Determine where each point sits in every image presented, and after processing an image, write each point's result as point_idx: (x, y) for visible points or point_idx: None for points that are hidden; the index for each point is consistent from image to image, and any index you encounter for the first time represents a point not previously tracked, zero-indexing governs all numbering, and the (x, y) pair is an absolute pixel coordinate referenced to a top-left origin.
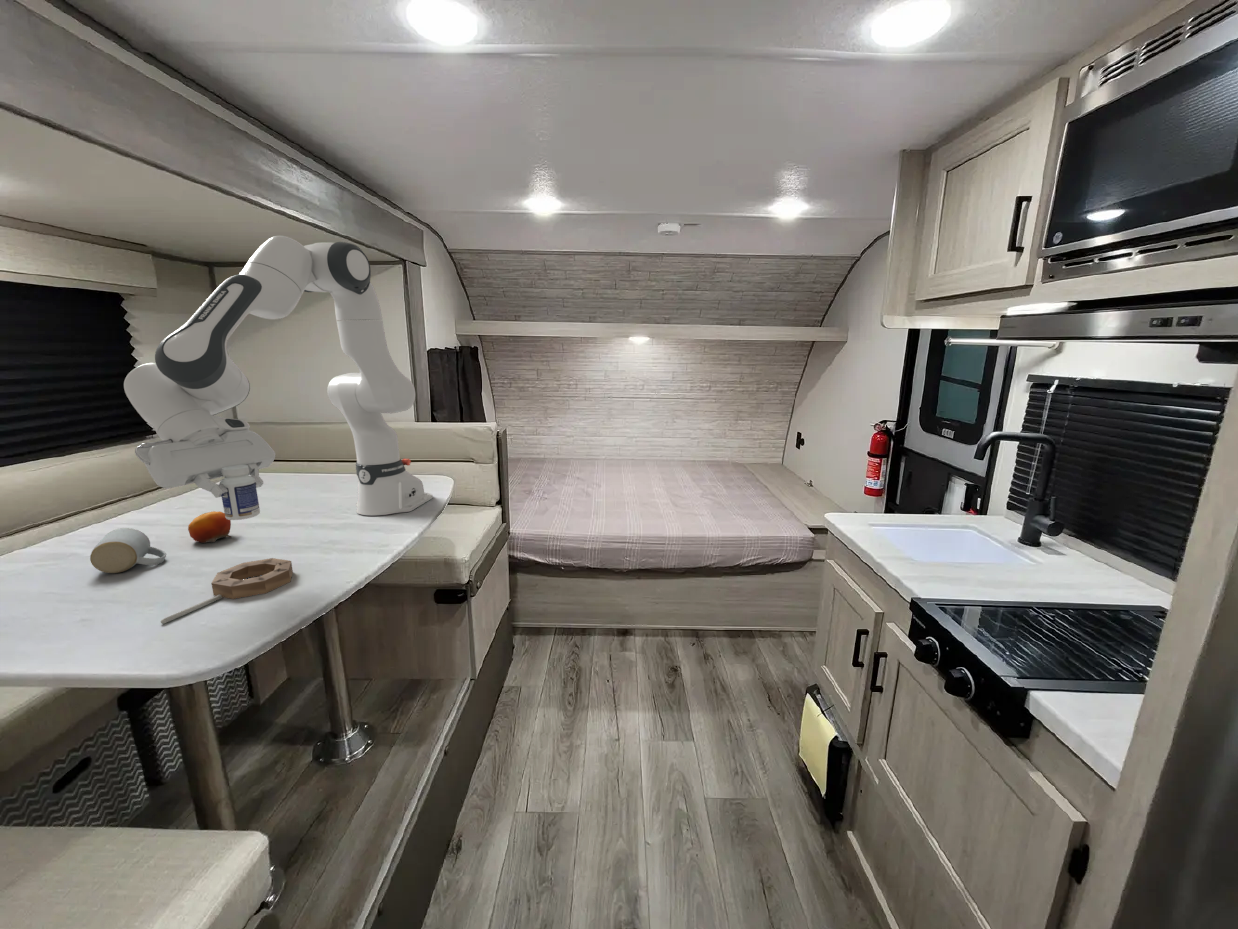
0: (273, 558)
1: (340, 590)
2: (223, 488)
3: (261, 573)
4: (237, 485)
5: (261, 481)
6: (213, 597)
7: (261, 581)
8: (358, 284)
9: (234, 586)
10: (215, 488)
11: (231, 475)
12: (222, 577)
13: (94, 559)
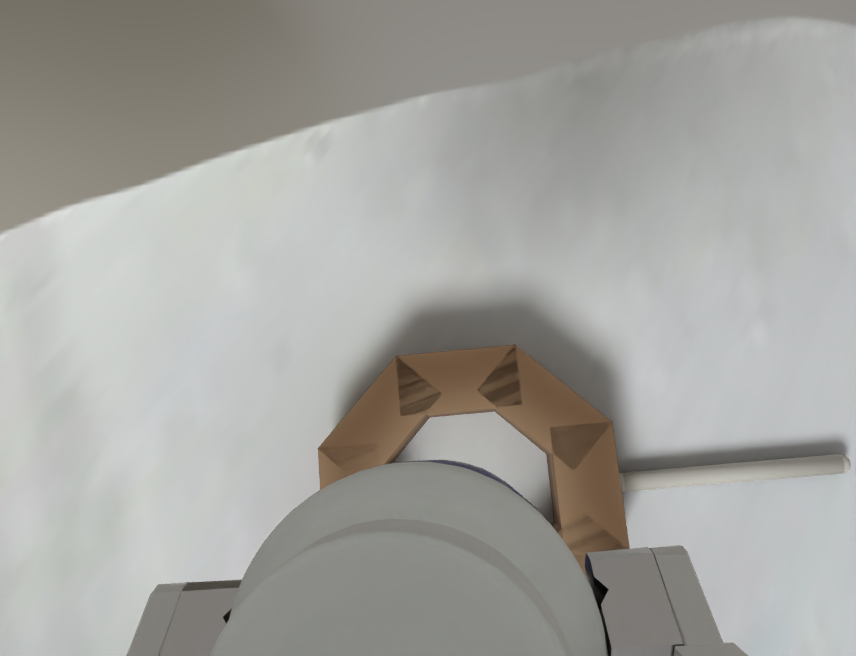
0: None
1: (385, 114)
2: (629, 575)
3: None
4: (509, 493)
5: (174, 587)
6: (652, 477)
7: (523, 352)
8: None
9: (602, 414)
10: (708, 613)
11: (532, 586)
12: None
13: None
